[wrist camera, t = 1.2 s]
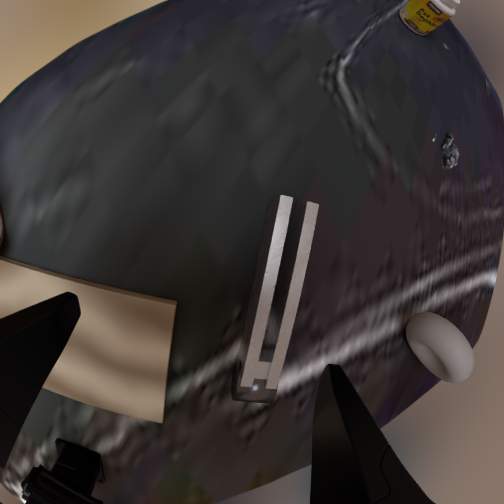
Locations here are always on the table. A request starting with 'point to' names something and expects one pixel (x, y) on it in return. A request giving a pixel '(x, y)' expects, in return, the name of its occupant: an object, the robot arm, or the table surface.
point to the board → (101, 340)
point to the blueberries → (449, 152)
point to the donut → (440, 347)
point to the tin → (1, 228)
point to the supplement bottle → (427, 14)
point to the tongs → (284, 303)
